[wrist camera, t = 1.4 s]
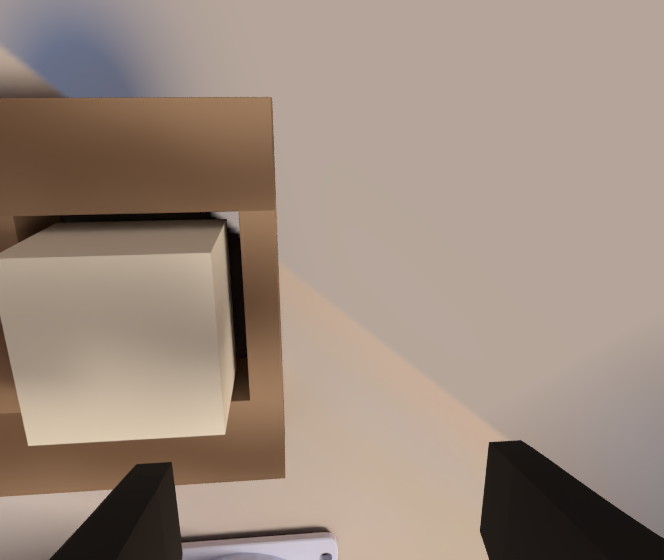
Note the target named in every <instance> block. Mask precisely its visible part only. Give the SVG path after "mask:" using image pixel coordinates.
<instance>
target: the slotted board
mask: <svg viewBox="0 0 664 560" xmlns="http://www.w3.org/2000/svg"><path fill="white" fill-rule="evenodd" d="M273 139H274V137H273V111H272V98H271V97H197V98H196V97H189V98H188V97H187V98H186V97H185V98H184V97H181V98H179V97H178V98H177V97H176V98H175V97H172V98H171V97H169V98H168V97H167V98H166V97H165V98H0V252H2V251H4V250H6V249H8V248H10V247H12V246H14V245H16V244H18V243H19V242H21V241H23V240H25V239H27V238H29V237H31V236H33V235H35V234H36V233H38V232H40V231H42V230H44V229H46V228H48V227H50V226H52V225H53V224H55V223H61V218H60V215H91V214H136V213H181V212H225V211H239V225H240V241H241V258H242V274H243V291H244V307H245V324H246V340H247V357H248V358H236V372H235V378H234V384H233V390H232V396H231V402H230V408H229V414H228V420H227V426H226V432H225V435H210V436H192V437H175V438H158V439H140V440H123V441H106V442H89V443H71V444H54V445H37V446H28V442H27V438H26V433H25V428H24V424H23V419H22V414H21V410H20V405H19V401H18V396H17V391H16V387H15V382H14V377H13V373H12V368H11V364H10V359H9V354H8V350H7V345H6V340H5V336H4V331H3V327H2V322H1V317H0V497H3V496H19V495H34V494H49V493H65V492H80V491H95V490H110V489H114V488H115V487H116V486H117V485H118V484H119V482H120V481H121V480H122V479H123V478H124V477H125V476H126V475H127V474H128V472H129V471H130V470H131V469H132V468H133V467H134V466H135V465H136V464H145V463H161V462H172V467H173V475H174V484H175V485H187V484H202V483H217V482H233V481H248V480H263V479H279V478H285V426H284V400H283V374H282V347H281V321H280V295H279V269H278V244H277V243H278V242H277V216H276V190H275V166H274V165H275V163H274V140H273Z"/></svg>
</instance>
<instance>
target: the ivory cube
mask: <svg viewBox="0 0 664 560" xmlns="http://www.w3.org/2000/svg"><path fill="white" fill-rule="evenodd" d="M0 317H1V322H2V327H3V331H4V336H5V340H6V345H7V350H8V354H9V359H10V364H11V368H12V373H13V377H14V382H15V387H16V391H17V396H18V401H19V405H20V410H21V414H22V419H23V424H24V428H25V433H26V438H27V442H28V446H37V445H54V444H71V443H89V442H106V441H123V440H140V439H158V438H175V437H192V436H210V435H225V432H226V426H227V420H228V414H229V408H230V402H231V396H232V390H233V384H234V378H235V372H236V351H235V337H234V322H233V307H232V293H231V278H230V263H229V249H228V234H227V219H210V220H167V221H124V222H81V223H55V224H53V225H52V226H50V227H48V228H46V229H44V230H42V231H40V232H38V233H36V234H35V235H33V236H31V237H29V238H27V239H25V240H23V241H21V242H19V243H18V244H16V245H14V246H12V247H10V248H8V249H6V250H4V251H2V252H0Z"/></svg>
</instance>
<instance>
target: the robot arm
mask: <svg viewBox="0 0 664 560" xmlns="http://www.w3.org/2000/svg"><path fill="white" fill-rule="evenodd" d="M480 533H481V536H482V539H483V542H484V545H485V548H486V551H487V554H488V557H489V560H664V538H662V537H660V536H659V535H657V534H656V533H654V532H652V531H651V530H650V529H648V528H646V527H645V526H644V525H642V524H641V523H639V522H638V521H636V520H634V519H633V518H632V517H630V516H629V515H627V514H626V513H624V512H622V511H621V510H620V509H618V508H617V507H615V506H614V505H612V504H611V503H610V502H608V501H607V500H605V499H604V498H602V497H601V496H599V495H598V494H597V493H595V492H594V491H592V490H591V489H590V488H588V487H587V486H585V485H584V484H583V483H581V482H580V481H578V480H577V479H576V478H574V477H573V476H571V475H570V474H569V473H567V472H566V471H564V470H563V469H562V468H560V467H559V466H558V465H556V464H555V463H553V462H552V461H551V460H549V459H548V458H546V457H545V456H544V455H542V454H541V453H539V452H538V451H536V450H535V449H533V448H532V447H530V446H529V445H527V444H526V443H524V442H523V441H521V440H519V441H502V442H489V448H488V458H487V467H486V477H485V487H484V497H483V506H482V516H481V526H480ZM323 553H329V554H328V555H322V554H323ZM49 560H338V545H337V539H336V537H335V536H334V534H332V533H330V532H319V533H306V534H292V535H279V536H266V537H252V538H239V539H226V540H212V541H199V542H185V543H181V535H180V526H179V518H178V509H177V501H176V492H175V484H174V475H173V467H172V462H161V463H145V464H136V465H135V466H134V467H133V468H132V469H131V470H130V471H129V472H128V474H127V475H126V476H125V477H124V478H123V479H122V480H121V481H120V482H119V484H118V485H117V486H116V487H115V488H114V489H113V490H112V492H111V493H110V494H109V495H108V496H107V497H106V498H105V499H104V501H103V502H102V503H101V504H100V505H99V506H98V507H97V508H96V510H95V511H94V512H93V513H92V514H91V515H90V516H89V517H88V518H87V520H86V521H85V522H84V523H83V524H82V525H81V526H80V527H79V528H78V529H77V530H76V531H75V533H74V534H73V535H72V536H71V537H70V538H69V539H68V540H67V541H66V542H65V543H64V544H63V545H62V546H61V548H60V549H59V550H58V551H57V552H56V553H55V554H54V555H53V556H52V557H51V558H50V559H49Z"/></svg>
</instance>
